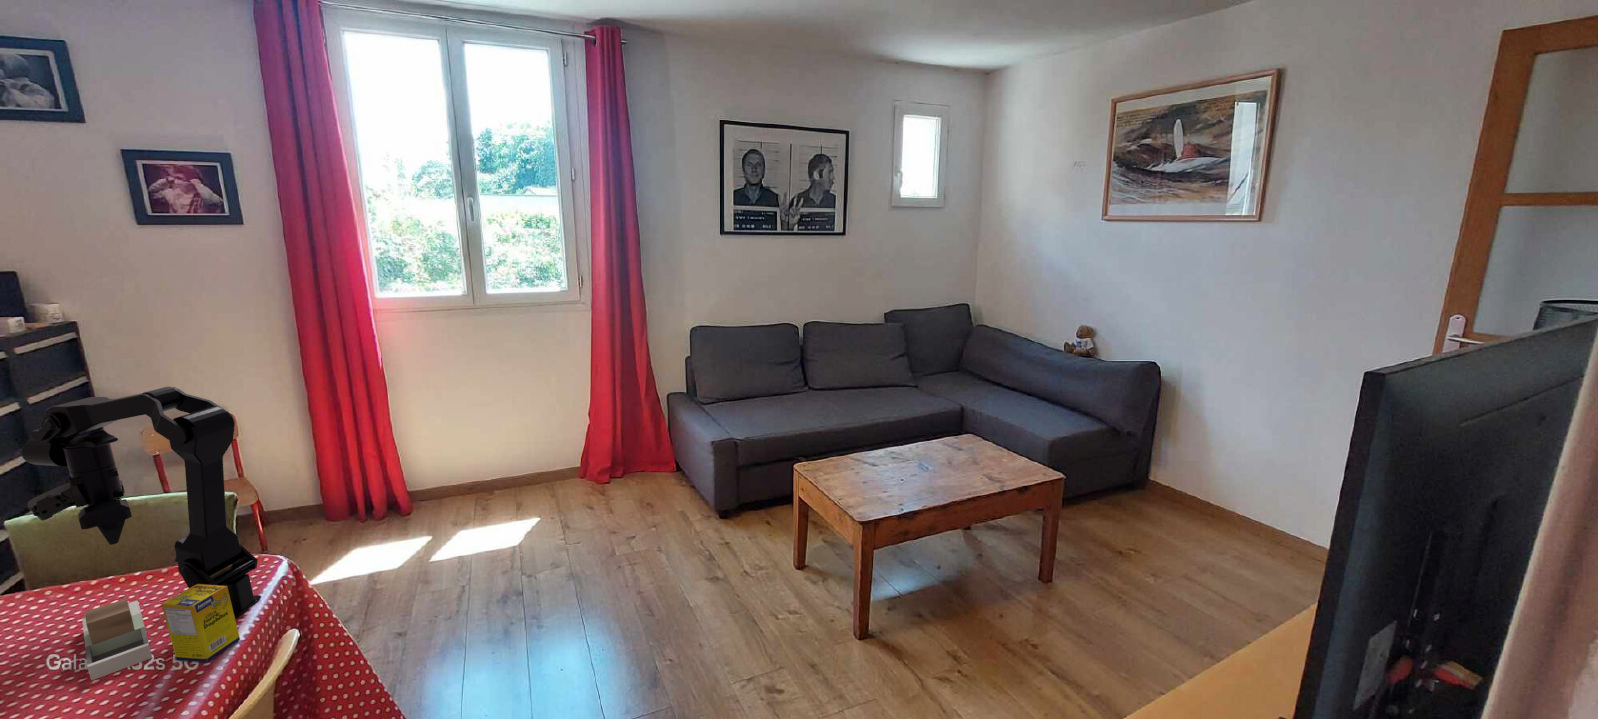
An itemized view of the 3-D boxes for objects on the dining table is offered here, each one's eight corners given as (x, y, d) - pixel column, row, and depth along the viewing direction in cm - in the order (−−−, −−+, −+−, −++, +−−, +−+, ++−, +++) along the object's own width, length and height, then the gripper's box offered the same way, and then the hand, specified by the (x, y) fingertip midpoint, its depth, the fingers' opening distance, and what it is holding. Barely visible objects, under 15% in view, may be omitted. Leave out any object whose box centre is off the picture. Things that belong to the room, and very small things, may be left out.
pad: (87, 644, 111) (83, 631, 110) (144, 624, 116) (140, 612, 115) (89, 659, 107) (85, 646, 106) (147, 638, 112) (144, 626, 111)
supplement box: (241, 640, 112) (228, 584, 109) (207, 663, 106) (192, 606, 103) (210, 637, 112) (197, 582, 110) (175, 661, 107) (160, 603, 104)
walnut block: (91, 632, 110) (84, 611, 109) (132, 618, 114) (126, 598, 113) (92, 644, 107) (86, 623, 106) (134, 630, 110) (129, 609, 109)
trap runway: (84, 622, 116) (81, 610, 116) (139, 604, 122) (135, 592, 121) (91, 680, 102) (87, 667, 102) (152, 657, 107) (148, 644, 107)
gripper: (25, 466, 117) (48, 543, 120) (23, 496, 105) (49, 580, 108) (113, 449, 125) (132, 521, 128) (120, 475, 113) (142, 554, 117)
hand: (113, 543), depth 120 cm, fingers closed
